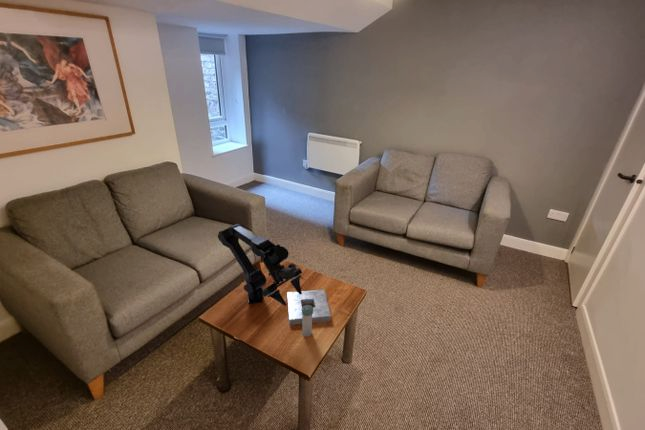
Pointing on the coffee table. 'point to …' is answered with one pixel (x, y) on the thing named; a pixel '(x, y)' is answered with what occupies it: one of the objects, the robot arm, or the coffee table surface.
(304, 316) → the plug
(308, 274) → the coffee table surface
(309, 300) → the housing
